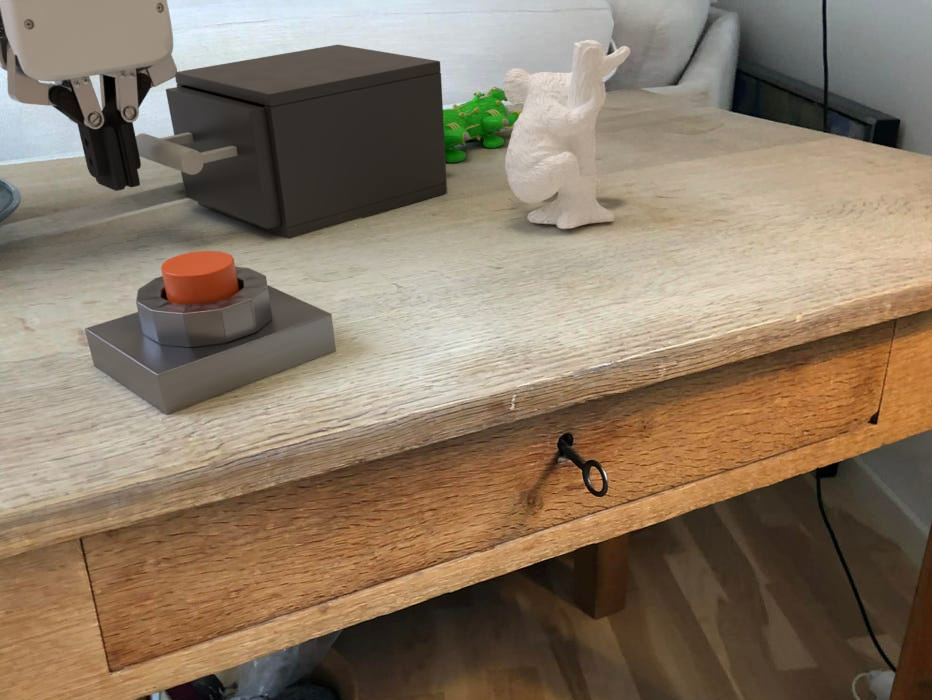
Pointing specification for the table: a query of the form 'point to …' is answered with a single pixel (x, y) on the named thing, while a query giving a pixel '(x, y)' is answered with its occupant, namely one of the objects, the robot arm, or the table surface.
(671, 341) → the table surface
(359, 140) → the storage box
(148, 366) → the button block
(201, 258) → the button
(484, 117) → the crocodile figurine
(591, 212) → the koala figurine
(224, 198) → the drawer
